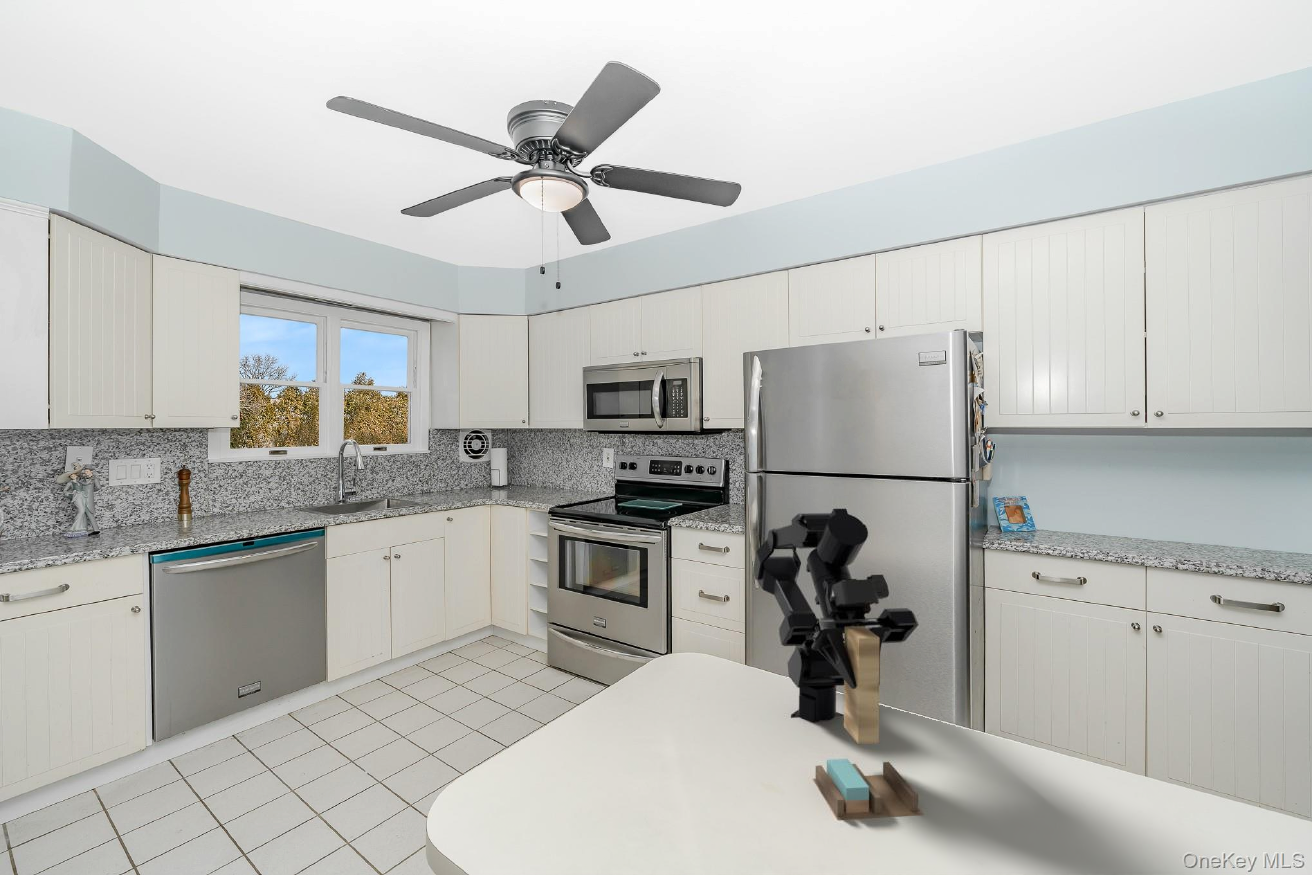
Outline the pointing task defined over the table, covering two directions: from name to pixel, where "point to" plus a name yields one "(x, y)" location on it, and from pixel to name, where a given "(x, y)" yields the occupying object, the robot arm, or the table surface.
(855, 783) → the offcut upper
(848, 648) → the oak board
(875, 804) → the rack
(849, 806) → the offcut lower
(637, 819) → the table surface
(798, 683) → the robot arm
